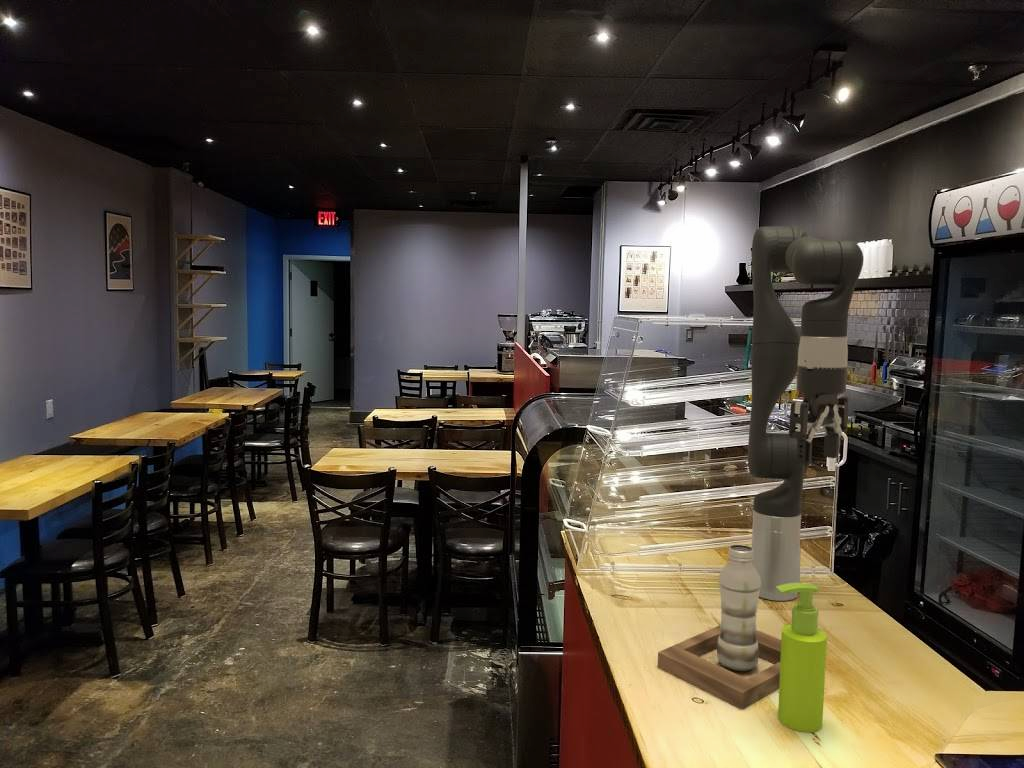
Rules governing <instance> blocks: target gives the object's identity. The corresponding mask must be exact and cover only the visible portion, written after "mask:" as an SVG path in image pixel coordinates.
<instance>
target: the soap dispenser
mask: <svg viewBox="0 0 1024 768" xmlns="http://www.w3.org/2000/svg"><path fill="white" fill-rule="evenodd" d="M776 588H777V589H778V590H780V591H781V592H782V593H783V594H788V593H793V592H798V597H799V598H798V603H796V604H793V605H792V607H791V623H789V624H788V623H787V624H786V625H784V626H782V627H781V637H780V639H781V659H780V682H779V689H778V706H777V708H778V710H777V717H778V718H777V719H778V720H779V721H780V723H781V724H783V725H784V726H786V727H787V728H789V729H791V730H794V731H797V732H801V733H814V732H818V731H820V730H821V729H822V727H823V718H824V698H825V697H824V696H825V683H826V681H825V677H826V661H827V660H826V659H827V657H826V656H827V640H828V638H827V637H828V635H827V634H826V632H825V631H823V630H822V629H820V628H818V620H819V609H818V608H817V607H815V605H813V594H814V593H819V592H820V588H819V587H818V586H816V585H815V584H814V583H809V582H799V583H787V584H783V585H779V586H776Z"/></svg>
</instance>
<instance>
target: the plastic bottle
mask: <svg viewBox="0 0 1024 768" xmlns="http://www.w3.org/2000/svg"><path fill="white" fill-rule="evenodd" d="M727 558H728V559H729V560H728V562H727V563H726V564H725V565H724V566H723V568H722V569H721V570H720V572H719V574H718V587H719V588H718V589H719V595H720V607H721V608H720V609H721V618H720V625H721V626H720V635H719V637H718V642H717V649H715V650H716V654H717V655H716V656H717V659H718V661H719V662H720V664H721V665H722V666H723V667H725V668H726V669H728V670H729V669H730V670H733V671H739V672H747V671H751V670H753V669H754V668H755V667H756V666H757V665H758V663H759V647H758V641H757V632H756V630H757V612H758V602H759V599H760V597H759V593H760V588H761V580H760V576H759V574H758V572H757V571H756V569H755V568H754V566H753V565H752V563H751V562H752V561H753V558H754V557H753V548H752V546H750V545H746V544H737V543H735V544H731V545H729V547H728V554H727Z"/></svg>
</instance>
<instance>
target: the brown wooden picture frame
mask: <svg viewBox="0 0 1024 768" xmlns="http://www.w3.org/2000/svg"><path fill="white" fill-rule="evenodd" d="M720 626H721V624H719V625H717V626H716V627H713V628H710V629H708V630H706V631H703V632H701V633H699V634H697V635H694V636H691V637H690V638H687V639H685V640H683V641H681V642H678V643H676V644H674V645H671V646H669V647H667V648H664V649H662V650H660V651H658V652H657V668H659V669H661V670H663V671H665V672H667V673H669V674H672V675H673V676H675V675H676V676H675V677H678V678H679V679H681V680H683V681H685V682H687V683H689V684H691V685H693V686H695V687H697V688H699V689H701V690H702V691H703V690H704V691H705V692H707V693H709V694H711V695H712V696H715V697H716V698H719V699H721V700H723V701H726V702H727V703H729V704H731V705H733V706H735V707H736V708H739V709H740V710H744V709H745V708H747V707H750V706H751V705H753V704H754V703H756V702H757V701H760V700H761V699H763V698H764V697H766V696H768V695H770V694H772V693H773V692H775V691H777V690H779V682H780V659H781V638H778V637H776V636H773V635H770V634H767V633H766V632H763V631H760V630H758V629H756V632H757V641H758V647H759V658H760V659H761V660H765V662H766V661H767V662H769V663H771V664H773V665H770V666H769V667H767V668H765V669H763V670H762V671H760V672H758V673H756V674H754V675H752V676H750V677H748V678H746V677H743V676H741V675H739V674H737V673H735V672H732V671H730V670H729V669H727V668H724V667H722V666H720V665H719V664H718V665H717V664H715V663H713V662H711V661H709V660H707V659H704V658H703V657H701V656H704V655H706V654H708V653H710V652H712V651H715V650H716V649H717V642H718V637H719V635H720Z"/></svg>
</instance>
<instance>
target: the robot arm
mask: <svg viewBox="0 0 1024 768" xmlns="http://www.w3.org/2000/svg"><path fill="white" fill-rule="evenodd" d="M751 243H752V244H751V264H752V266H751V268H752V269H751V270H752V291H753V313H752V314H753V316H752V330H751V331H752V333H751V334H752V335H751V356H750V357H751V363H750V365H751V403H750V404H751V405H750V419H749V420H750V421H749V432H748V442H747V443H748V444H747V446H748V447H747V467H748V471H749V474H750V475H751V476H752V477H753V478H755V479H756V478H758V479H760V478H761V479H772V480H773V479H774V480H776V479H777V480H783V481H782V483H781V484H779V485H778V486H776V487H774V488H771V489H769V490H765V491H763V492H758V494H756V495H755V496H754V498H753V506H752V511H753V512H752V531H751V532H752V533H751V534H752V535H751V547H752V548H753V557H754V558H753V561H752V562H751V563H752V565H753V566H754V568H755V569H756V571H757V572H758V574H759V576H760V580H761V588H760V593H759V598H762V599H766V600H771V601H780V602H783V601H784V602H785V601H792V600H794V599H796V598H797V597H798V596H799V592H793V593H788V594H783V593H782V592H781V591H780V590H778V589H777V588H776V586H779V585H783V584H787V583H800V575H801V558H802V557H801V555H802V548H801V546H800V545H801V525H802V524H801V523H802V522H801V521H802V507H803V506H802V505H803V504H802V503H803V490H804V489H803V488H804V481H805V480H804V479H805V469H806V466H808V465H811V464H812V453H813V442H812V441H813V439H814V437H815V433H816V432H819V431H820V429H821V427H822V429H823V431H824V434H825V435H824V438H823V439H824V440H823V456H824V457H825V458H828V459H829V458H831V459H836V458H838V457H839V450H840V449H839V447H840V446H839V445H840V437H841V436H842V434H843V432H847V430H848V426H849V425H848V424H849V423H848V421H849V420H848V419H849V397H848V396H843V394H845V392H846V391H847V378H848V377H847V376H848V375H847V374H848V373H847V371H848V359H849V358H848V354H849V350H848V349H849V348H848V342H847V341H848V323H849V321H848V320H849V312H850V306H851V303H852V298H853V294H854V292H855V288H856V286H857V283H858V280H859V278H860V275H861V272H862V269H863V265H864V254H863V251H862V249H861V247H860V245H858V244H857V243H856V242H855V241H852V240H826V239H822V238H818V237H814V235H813V234H812V233H811V232H810V230H808V229H806V228H804V227H801V226H795V225H790V226H789V225H788V226H787V225H785V226H783V225H779V226H778V225H773V226H760V227H758V228H756V229H755V231H754V234H753V237H752V242H751ZM771 273H793V274H792V275H793V278H794V280H795V281H796V282H797V283H799V284H802V285H808V286H809V285H810V286H814V285H815V286H816V285H820V286H821V285H823V286H825V285H826V286H827V285H829V286H830V285H834V288H833V290H832V292H830V294H829V295H828V296H826V297H823V298H817V299H812V300H808V301H806V302H804V304H803V305H802V308H801V316H800V317H801V321H800V332H799V331H798V328H797V327H796V326H795V323H794V322H793V320H792V318H791V317H790V316H789V314H788V313H787V311H786V309H785V308H784V307H783V305H782V304H781V302H780V300H779V298H778V296H777V294H776V291H775V290H774V289H775V288H774V285H773V282H772V280H773V279H772V276H771V275H772V274H771ZM799 333H800V334H799ZM795 378H796V390H797V391H798V393H802V394H803V397H802V401H799V400H798V401H794V400H792V402H791V403H790V411H789V424H788V425H789V426H788V433H784V432H783V433H782V432H781V433H780V432H778V433H777V432H767V427H768V423H769V420H770V417H771V414H772V412H774V409H775V407H776V406H777V403H778V402H779V400H780V399H781V397H782V396H783V395H784V393H785V392H786V390H787V389H788V388H789V386H790V385H791V383H793V380H794V379H795ZM841 395H842V396H841Z"/></svg>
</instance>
